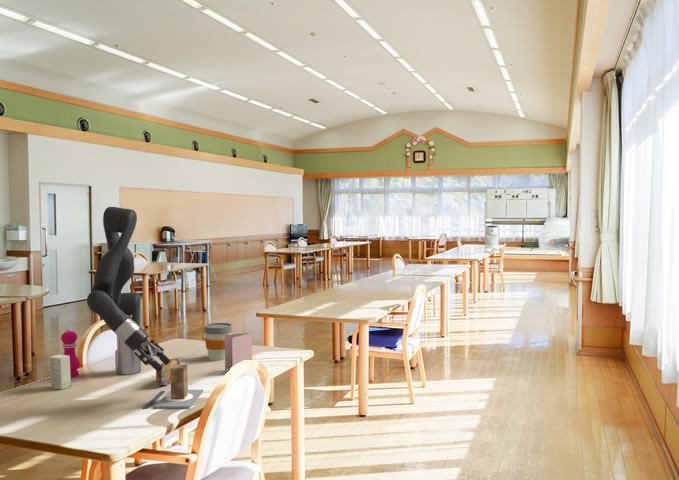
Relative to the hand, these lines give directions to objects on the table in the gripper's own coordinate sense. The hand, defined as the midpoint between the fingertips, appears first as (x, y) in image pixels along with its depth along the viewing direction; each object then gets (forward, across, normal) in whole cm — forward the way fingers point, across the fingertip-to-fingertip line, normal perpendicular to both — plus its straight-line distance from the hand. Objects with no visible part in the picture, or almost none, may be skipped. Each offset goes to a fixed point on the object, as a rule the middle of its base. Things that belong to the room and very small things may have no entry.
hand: (164, 366), depth 197 cm
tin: (+5, +21, +13) cm, 25 cm away
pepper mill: (-25, +29, +43) cm, 58 cm away
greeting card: (+23, +36, -5) cm, 43 cm away
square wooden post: (+11, 0, +4) cm, 12 cm away
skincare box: (-23, +14, +40) cm, 48 cm away
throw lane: (+11, -1, +6) cm, 12 cm away
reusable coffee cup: (+13, +58, +5) cm, 59 cm away
